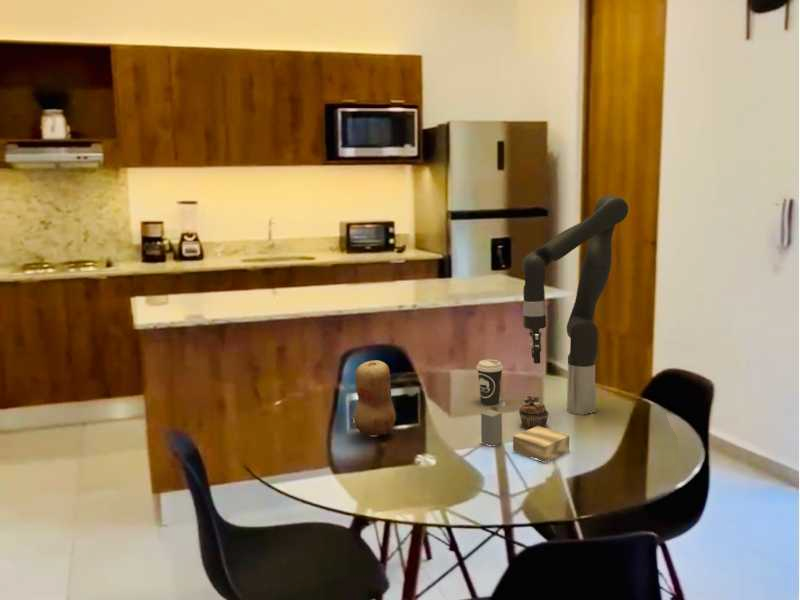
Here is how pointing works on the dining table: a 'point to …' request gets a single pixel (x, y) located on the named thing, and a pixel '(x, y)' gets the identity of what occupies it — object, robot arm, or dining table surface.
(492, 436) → the grey block
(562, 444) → the birch plinth
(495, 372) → the coffee cup
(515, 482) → the dining table surface
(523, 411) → the cupcake
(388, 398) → the butternut squash
